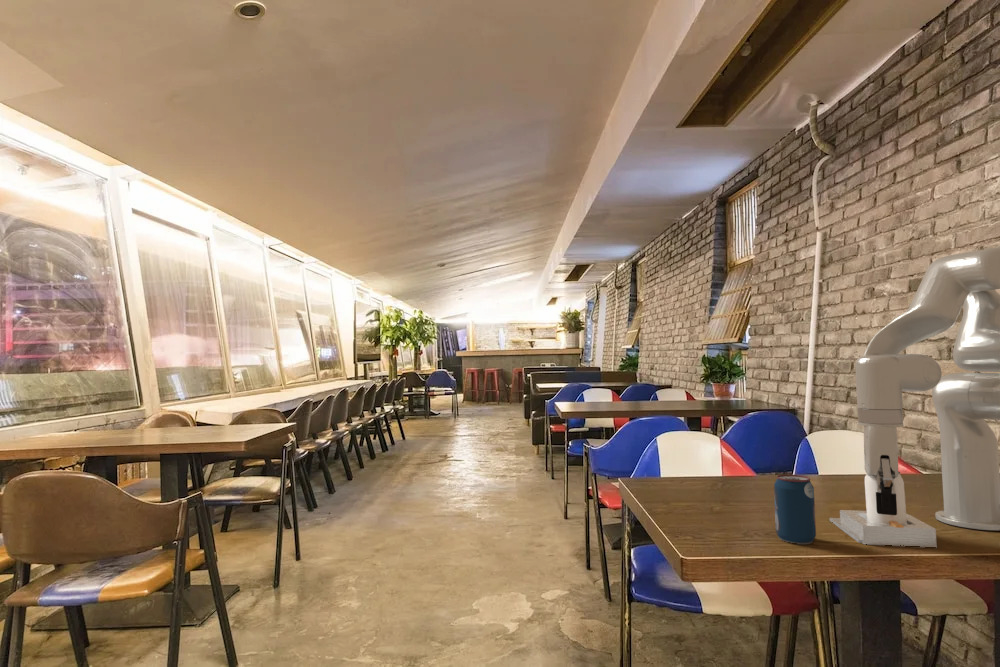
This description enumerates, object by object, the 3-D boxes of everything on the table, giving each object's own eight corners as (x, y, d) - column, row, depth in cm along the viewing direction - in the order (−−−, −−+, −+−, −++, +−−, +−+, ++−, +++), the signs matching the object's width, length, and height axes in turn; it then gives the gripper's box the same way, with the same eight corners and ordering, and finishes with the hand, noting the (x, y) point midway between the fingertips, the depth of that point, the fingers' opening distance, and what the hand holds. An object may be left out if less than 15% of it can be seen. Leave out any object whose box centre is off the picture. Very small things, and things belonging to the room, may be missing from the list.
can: (905, 531, 113) (901, 469, 114) (909, 539, 108) (905, 475, 109) (867, 527, 117) (862, 467, 117) (869, 535, 111) (864, 472, 112)
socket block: (897, 523, 122) (896, 504, 122) (940, 548, 105) (939, 527, 105) (829, 520, 124) (828, 502, 125) (861, 544, 107) (860, 523, 108)
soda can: (824, 543, 109) (822, 479, 109) (794, 547, 107) (792, 481, 107) (796, 533, 115) (794, 472, 116) (767, 536, 113) (765, 475, 114)
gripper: (854, 413, 123) (858, 499, 122) (861, 421, 108) (866, 518, 107) (896, 414, 120) (901, 502, 118) (910, 422, 104) (915, 523, 103)
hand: (884, 509), depth 113 cm, fingers closed on can, 6 cm apart
